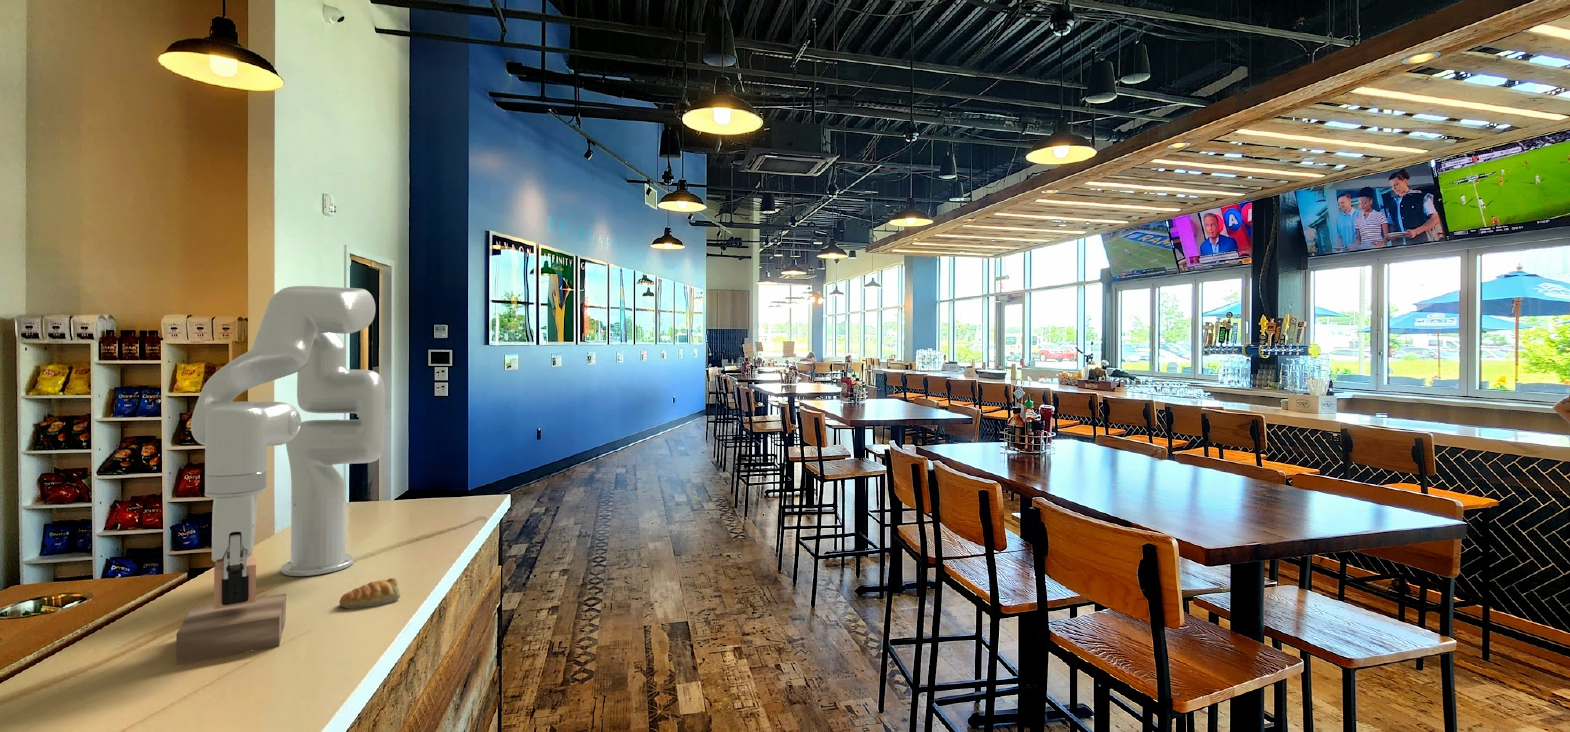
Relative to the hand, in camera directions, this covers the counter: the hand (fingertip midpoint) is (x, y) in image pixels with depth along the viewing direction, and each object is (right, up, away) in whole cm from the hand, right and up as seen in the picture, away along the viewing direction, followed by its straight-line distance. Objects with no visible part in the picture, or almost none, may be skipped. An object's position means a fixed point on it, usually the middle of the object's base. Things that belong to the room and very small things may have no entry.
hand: (235, 596), depth 105 cm
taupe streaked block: (0, -7, 0) cm, 7 cm away
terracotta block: (0, -1, 0) cm, 1 cm away
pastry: (+11, -8, +18) cm, 22 cm away
